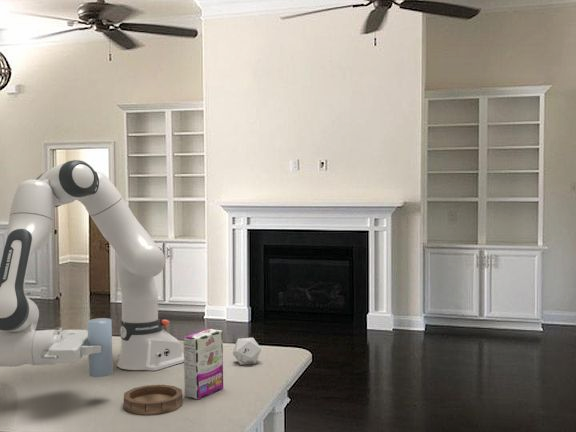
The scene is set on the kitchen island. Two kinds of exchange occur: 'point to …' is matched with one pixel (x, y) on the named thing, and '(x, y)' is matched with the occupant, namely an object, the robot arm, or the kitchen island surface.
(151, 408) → the tray
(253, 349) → the die
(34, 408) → the kitchen island surface
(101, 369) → the pale blue cylinder
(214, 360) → the candy bar box
